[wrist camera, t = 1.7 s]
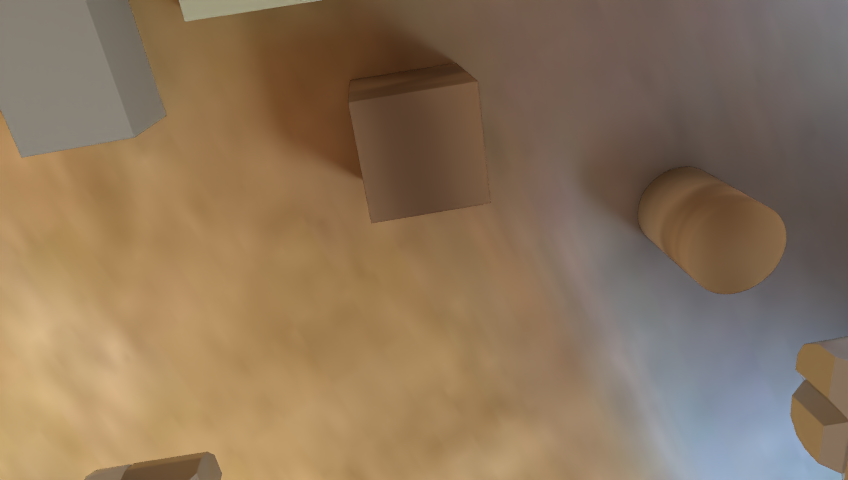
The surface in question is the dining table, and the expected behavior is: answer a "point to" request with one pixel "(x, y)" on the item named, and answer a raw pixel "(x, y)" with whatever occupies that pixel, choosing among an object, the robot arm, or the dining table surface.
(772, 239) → the cork cylinder
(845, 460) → the robot arm
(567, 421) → the dining table surface
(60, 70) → the slate block
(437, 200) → the walnut block
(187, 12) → the tray
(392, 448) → the dining table surface
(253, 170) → the dining table surface
